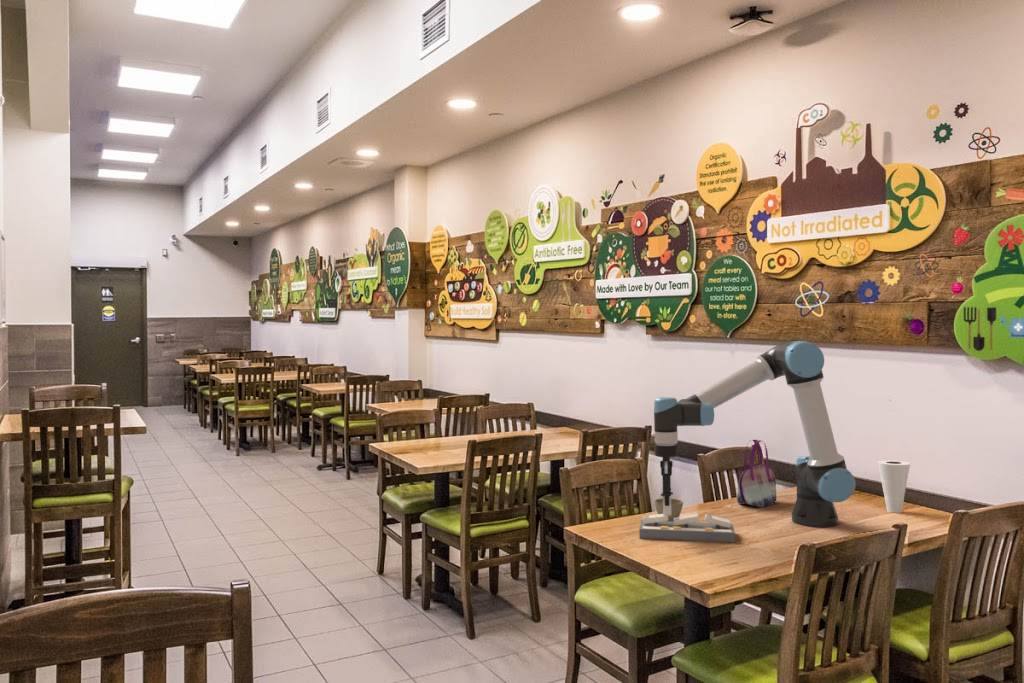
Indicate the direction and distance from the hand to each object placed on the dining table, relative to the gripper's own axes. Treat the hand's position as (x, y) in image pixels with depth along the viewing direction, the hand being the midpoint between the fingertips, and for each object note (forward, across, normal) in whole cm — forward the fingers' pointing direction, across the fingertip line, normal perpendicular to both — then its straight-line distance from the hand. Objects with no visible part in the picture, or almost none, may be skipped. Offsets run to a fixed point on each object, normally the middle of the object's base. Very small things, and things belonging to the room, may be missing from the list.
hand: (667, 514), depth 249 cm
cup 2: (+7, -46, +81) cm, 94 cm away
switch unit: (+6, +1, +6) cm, 9 cm away
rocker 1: (+1, 0, -4) cm, 4 cm away
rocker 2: (+1, 0, +6) cm, 6 cm away
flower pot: (+7, -18, 0) cm, 19 cm away
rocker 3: (+1, 0, +16) cm, 16 cm away
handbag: (+7, -51, +33) cm, 61 cm away
